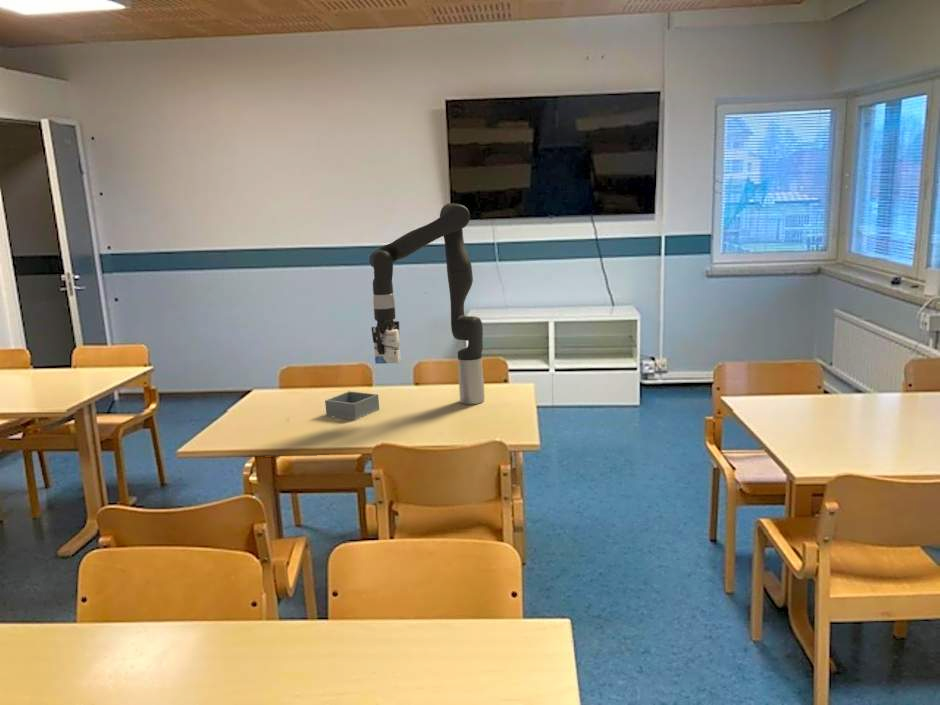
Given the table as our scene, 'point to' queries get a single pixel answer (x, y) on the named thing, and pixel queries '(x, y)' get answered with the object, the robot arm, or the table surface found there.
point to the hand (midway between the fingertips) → (387, 352)
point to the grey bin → (352, 405)
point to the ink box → (389, 348)
